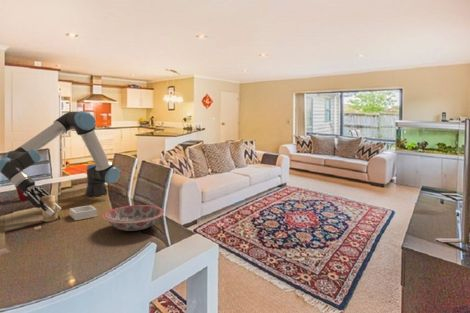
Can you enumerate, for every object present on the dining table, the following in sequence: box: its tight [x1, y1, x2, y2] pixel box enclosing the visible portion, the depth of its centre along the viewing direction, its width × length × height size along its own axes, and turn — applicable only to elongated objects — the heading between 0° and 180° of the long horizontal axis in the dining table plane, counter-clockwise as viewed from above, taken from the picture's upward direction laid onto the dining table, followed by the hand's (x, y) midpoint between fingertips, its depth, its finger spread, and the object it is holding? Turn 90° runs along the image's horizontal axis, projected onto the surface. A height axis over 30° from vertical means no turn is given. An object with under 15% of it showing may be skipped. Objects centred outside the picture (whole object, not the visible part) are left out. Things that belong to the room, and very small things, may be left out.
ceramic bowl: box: [103, 204, 165, 232], centre depth 147 cm, size 29×29×8 cm
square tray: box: [69, 204, 98, 221], centre depth 164 cm, size 11×11×4 cm
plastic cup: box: [13, 184, 29, 202], centre depth 195 cm, size 11×11×12 cm
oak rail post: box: [41, 194, 57, 223], centre depth 156 cm, size 6×6×13 cm
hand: (55, 212), depth 156 cm, fingers closed on oak rail post, 6 cm apart
